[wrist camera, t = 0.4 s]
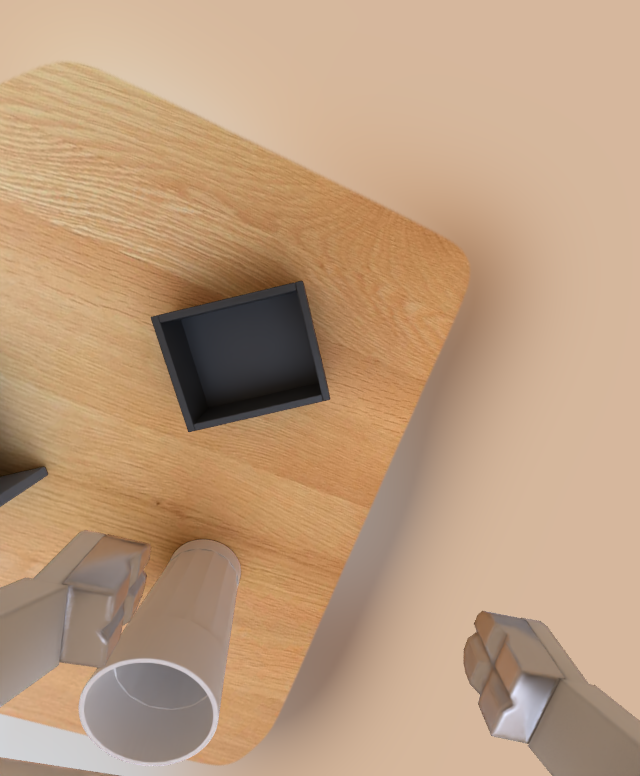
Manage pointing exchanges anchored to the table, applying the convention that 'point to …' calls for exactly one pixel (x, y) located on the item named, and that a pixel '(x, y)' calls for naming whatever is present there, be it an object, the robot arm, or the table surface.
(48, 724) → the table surface
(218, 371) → the basket
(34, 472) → the cubby shelf
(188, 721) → the cup
